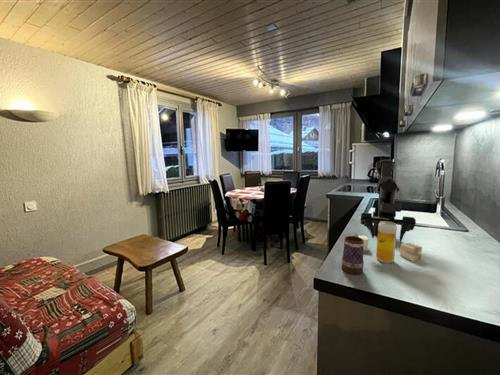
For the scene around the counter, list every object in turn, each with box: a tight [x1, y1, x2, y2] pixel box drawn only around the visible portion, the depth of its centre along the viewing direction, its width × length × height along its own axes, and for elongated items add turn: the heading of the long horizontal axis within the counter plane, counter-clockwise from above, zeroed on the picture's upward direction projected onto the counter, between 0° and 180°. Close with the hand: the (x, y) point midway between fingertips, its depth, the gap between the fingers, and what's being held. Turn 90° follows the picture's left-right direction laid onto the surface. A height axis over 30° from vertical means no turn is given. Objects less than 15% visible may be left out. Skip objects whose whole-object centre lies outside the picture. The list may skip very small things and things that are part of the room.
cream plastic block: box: [358, 234, 369, 252], centre depth 102 cm, size 5×5×5 cm
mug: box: [341, 233, 365, 276], centre depth 83 cm, size 10×7×12 cm
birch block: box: [399, 242, 423, 261], centre depth 93 cm, size 5×5×5 cm
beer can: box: [375, 221, 398, 264], centre depth 89 cm, size 6×6×15 cm
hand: (386, 239), depth 89 cm, fingers open, 9 cm apart
